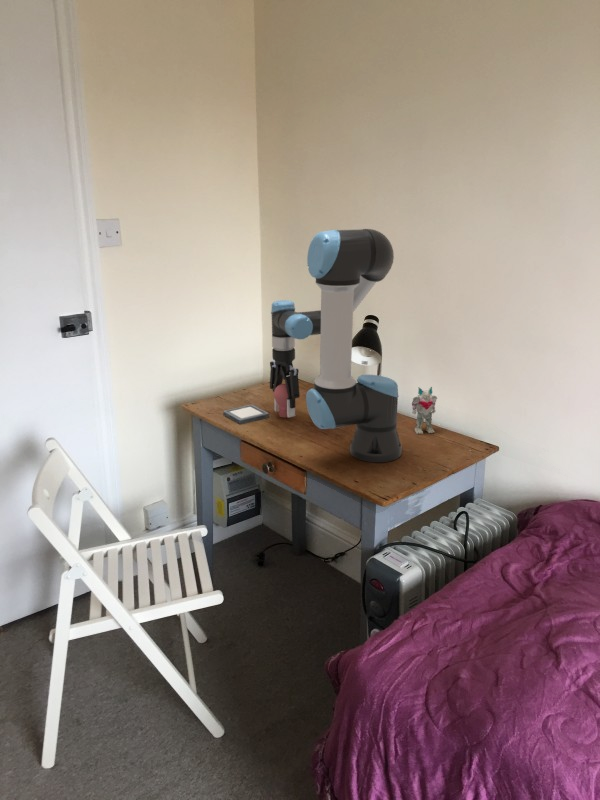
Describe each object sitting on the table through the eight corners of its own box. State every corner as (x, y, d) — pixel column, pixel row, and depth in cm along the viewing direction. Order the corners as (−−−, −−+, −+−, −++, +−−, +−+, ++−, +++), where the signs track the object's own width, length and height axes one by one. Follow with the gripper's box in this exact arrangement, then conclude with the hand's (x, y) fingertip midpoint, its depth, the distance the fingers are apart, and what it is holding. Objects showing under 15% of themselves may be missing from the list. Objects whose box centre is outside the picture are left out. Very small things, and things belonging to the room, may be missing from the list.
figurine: (406, 432, 209) (408, 387, 204) (416, 424, 215) (418, 381, 210) (430, 436, 205) (433, 391, 200) (439, 429, 211) (442, 385, 206)
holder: (269, 417, 223) (269, 413, 222) (240, 424, 216) (239, 420, 216) (251, 408, 232) (251, 404, 231) (223, 415, 225) (223, 410, 225)
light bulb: (292, 421, 219) (292, 387, 215) (272, 420, 220) (271, 386, 216) (297, 414, 225) (296, 381, 221) (277, 413, 226) (276, 380, 223)
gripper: (310, 352, 209) (310, 419, 216) (276, 340, 224) (277, 403, 232) (291, 355, 205) (292, 424, 212) (258, 343, 220) (259, 407, 228)
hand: (284, 413), depth 222 cm, fingers closed on light bulb, 7 cm apart
